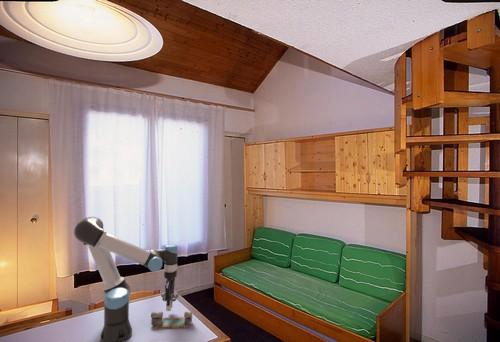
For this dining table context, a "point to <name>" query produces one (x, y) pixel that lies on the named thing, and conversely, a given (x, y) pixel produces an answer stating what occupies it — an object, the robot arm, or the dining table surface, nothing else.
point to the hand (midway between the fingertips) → (169, 308)
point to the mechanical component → (171, 297)
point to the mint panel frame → (170, 320)
